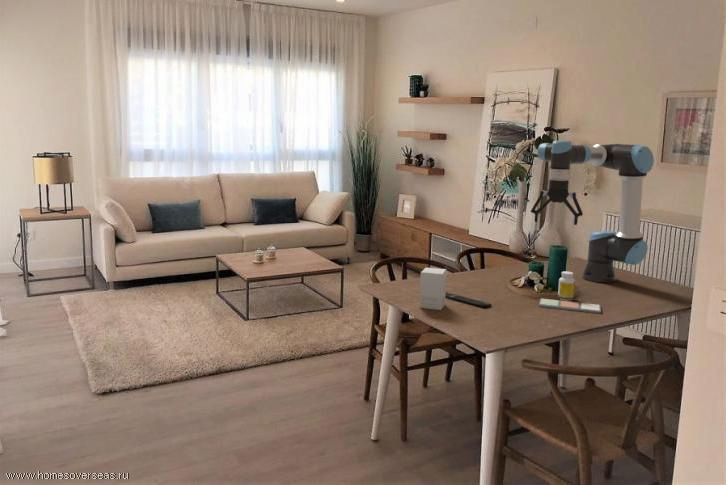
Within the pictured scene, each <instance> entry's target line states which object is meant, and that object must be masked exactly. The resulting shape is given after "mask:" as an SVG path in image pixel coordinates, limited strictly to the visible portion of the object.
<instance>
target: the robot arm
mask: <svg viewBox="0 0 726 485" xmlns="http://www.w3.org/2000/svg"><path fill="white" fill-rule="evenodd" d="M537 157H538V159H539V160H541V161H544V162H550V167H549V181H548V191H547V190H543V189H542V190H541V191H540V192H539V196H538V198H537V199H536V202H534V204H533V207H532V208H531V210H530V213H532V214H534V222H535V223H537V225H536V231H538V232H539V230H540V222H541V211H543V210H544V208H546V206H548V205H549V204H550V203H551V202H552V203H558V204H562V203H564V205H565V206H566V207H567V208H568V210H569V211H570V212H571V214H572V215H573V216H572V222H571V234H574V232H575V230H574V229H575V226H577V225H578V221H579V220H578V219H579V217H582V216H583V213H584V212H583V210H582V208H581V206H580V203H579V201H578V199H577V192H575V191H573V192H569V182H570V181H569V179H570V168H571V165H576V164H578V165H582V164H590V165H592V166H594V167H601V168H605V169H610V170H614V171H618V177H619V178H620V179H621V186H620V187H621V188H620V189H621V192H620V206H619V208H620V209H619V224H618V225H619V226H618V231H617V232H616V231H614V230H599V231H593V232H591V233H590V236H589V239H588V251H587V260H586V264H585V266H584V268H583V270H582V273H581V274H582V275H581V278H582V279H584V280H587V281H590V282H594V283H595V282H596V283H613V282H615V281H616V280H617V276H616V270H615V267H614V262H617V263H618V262H619V263H623V264H626V265H631V266H636V265H639V264H641V263H642V262H643V260H644V259H645V258H646V256H647V253H648V248H649V246H648V244H647V241H645V240H643V238H644V237H643V236H644V235H643V234H642V232H640V229H641V228H640V225H641V214H642V213H641V212H642V199H643V198H642V196H643V195H642V194H643V182H644V181H643V180H644V179H645V178H646V177H648V173H649V172H650V171H651V170H652V169H653V167H654V162H655V160H654V154H653V152H652V149H650V147H648V146H646V145H642V144H641V145H640V144H627V143H626V144H624V143H623V144H622V143H611V144H610V143H609V144H595V145H592V146H591V145H585V144H572V141H570V140H554V141H552V143H549V142H544V143H540V144H539V145H538V148H537ZM546 195H547V196H548V199H547V200H546V201H545V202H543V204H542V205H540V206H539V207H538V205H539V204H540V202H542V201H541V200H542V199H543V198H544V197H545V196H546ZM569 196H570V198H571V199H572V200H573V203H574V205H575V208H576V210H577V211H576V210H575V208H574V207H573V205H572V204H571V203H570V202H569V200H568V197H569ZM537 207H538V209H537Z"/></svg>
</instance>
